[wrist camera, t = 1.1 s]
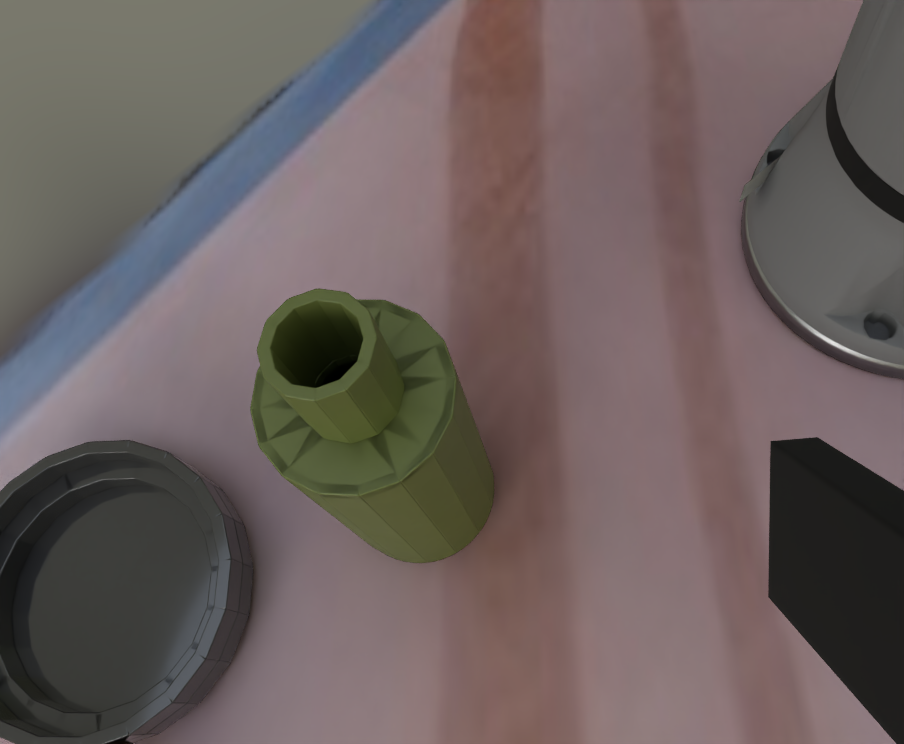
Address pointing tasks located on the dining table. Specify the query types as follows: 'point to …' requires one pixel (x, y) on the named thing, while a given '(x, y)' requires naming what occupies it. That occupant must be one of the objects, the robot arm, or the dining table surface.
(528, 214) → the dining table surface
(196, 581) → the pan
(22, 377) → the dining table surface
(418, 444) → the oil bottle
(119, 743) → the pan handle
